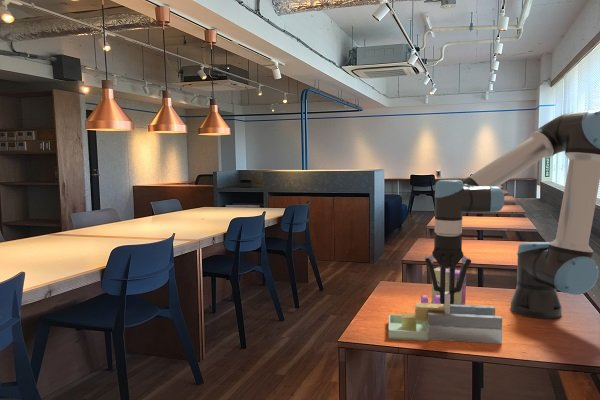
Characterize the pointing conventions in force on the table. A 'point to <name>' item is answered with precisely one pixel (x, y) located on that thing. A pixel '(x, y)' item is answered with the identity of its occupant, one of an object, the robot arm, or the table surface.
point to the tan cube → (422, 311)
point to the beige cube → (437, 308)
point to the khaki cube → (408, 321)
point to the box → (458, 296)
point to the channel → (466, 324)
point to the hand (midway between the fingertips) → (446, 314)
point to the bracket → (425, 299)
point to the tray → (398, 333)
